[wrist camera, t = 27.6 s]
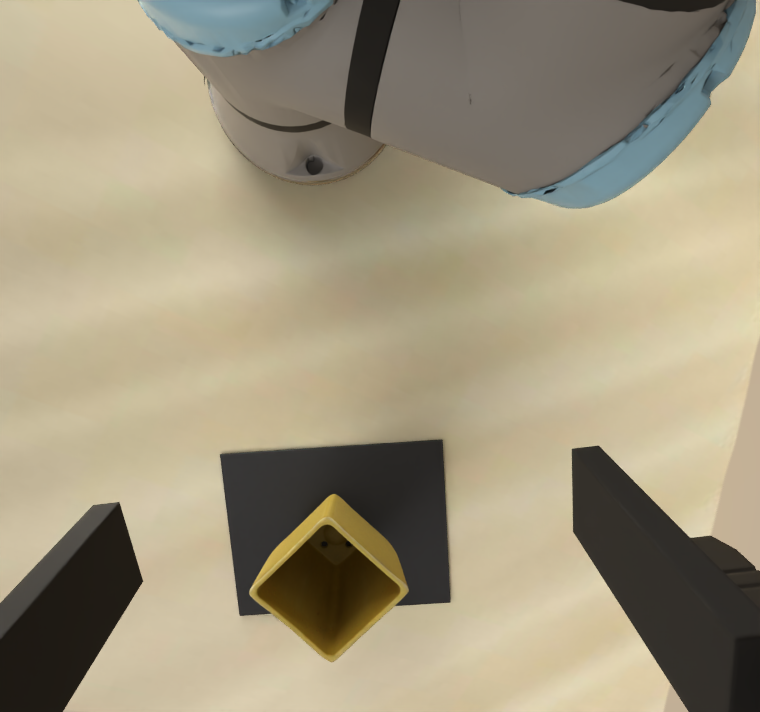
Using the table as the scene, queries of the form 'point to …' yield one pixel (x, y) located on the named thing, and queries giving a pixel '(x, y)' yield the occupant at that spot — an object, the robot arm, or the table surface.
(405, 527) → the felt pad
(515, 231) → the table surface
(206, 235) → the table surface
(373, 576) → the flower pot
